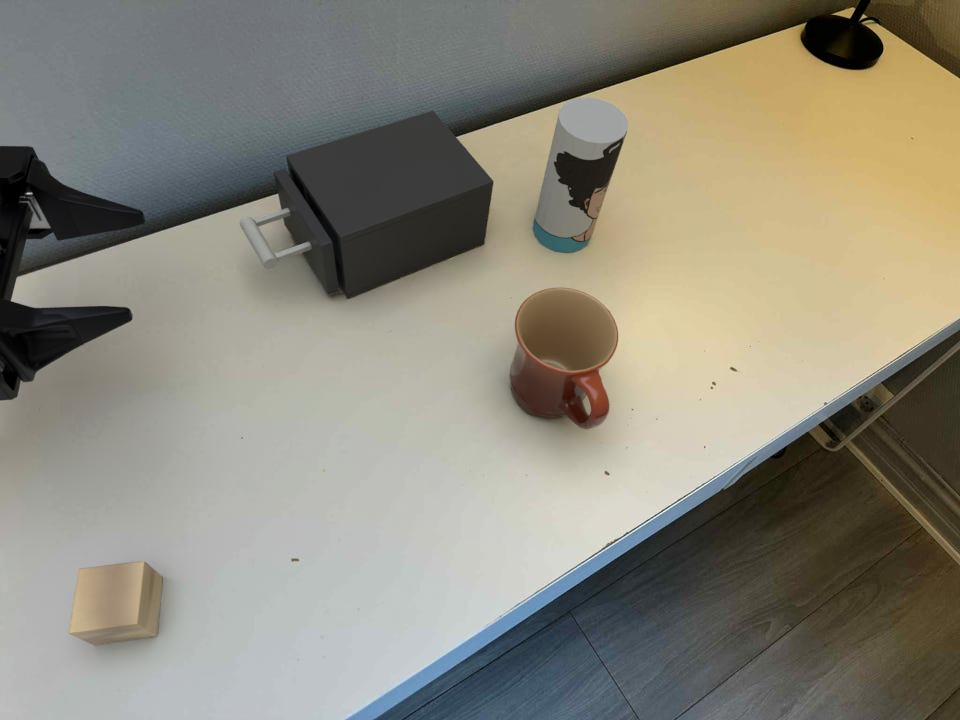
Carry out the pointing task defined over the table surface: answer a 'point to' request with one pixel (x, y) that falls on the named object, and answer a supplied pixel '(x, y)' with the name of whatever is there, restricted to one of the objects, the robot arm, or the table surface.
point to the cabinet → (395, 199)
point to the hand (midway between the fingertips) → (137, 263)
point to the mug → (563, 355)
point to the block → (116, 603)
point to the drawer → (298, 233)
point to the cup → (578, 172)
